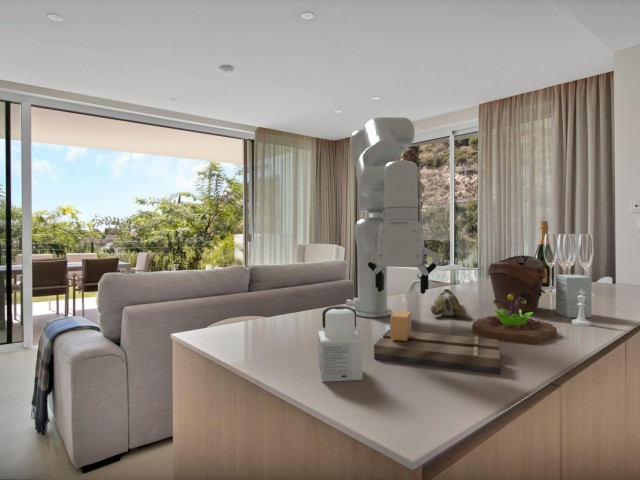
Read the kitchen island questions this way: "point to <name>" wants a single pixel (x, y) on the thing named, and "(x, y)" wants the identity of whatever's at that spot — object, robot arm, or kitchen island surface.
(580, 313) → the chess piece
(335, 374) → the container
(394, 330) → the fader tab
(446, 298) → the ceramic sculpture
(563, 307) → the supplement box
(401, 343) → the slider console
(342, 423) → the kitchen island surface
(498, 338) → the plant
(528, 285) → the brown flower pot
